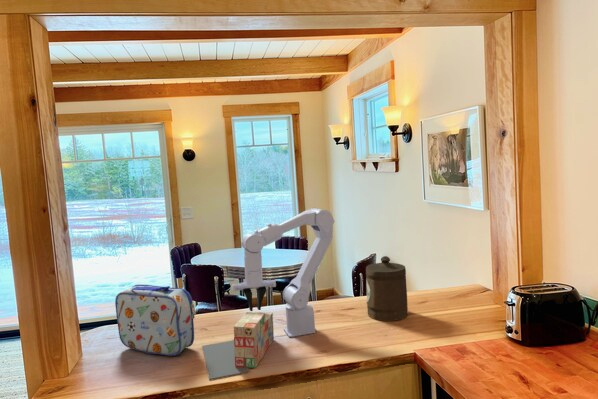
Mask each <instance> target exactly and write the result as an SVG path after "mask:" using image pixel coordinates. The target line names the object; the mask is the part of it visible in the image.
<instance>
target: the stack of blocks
mask: <svg viewBox="0 0 598 399" xmlns="http://www.w3.org/2000/svg"><path fill="white" fill-rule="evenodd" d="M274 336H275V335H274V315H273V312H265V311H264V312H262V311H261V312H260V311H255V312H253V311H250V312H248V311H247V312H245V314H244V315H242V317H241V318H240V319H239V320H238V322H236V323H235V325H233V340H234V347H235V367H247V369H248V368H252V369H255V368H256V367H257V366H258V364H259V363H260V361H261V360H262V358H264V356H265V353H266V351H267V350H268V348H269V347H270V346H271V344H272V343H273V341H274V339H275V337H274Z"/></svg>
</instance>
